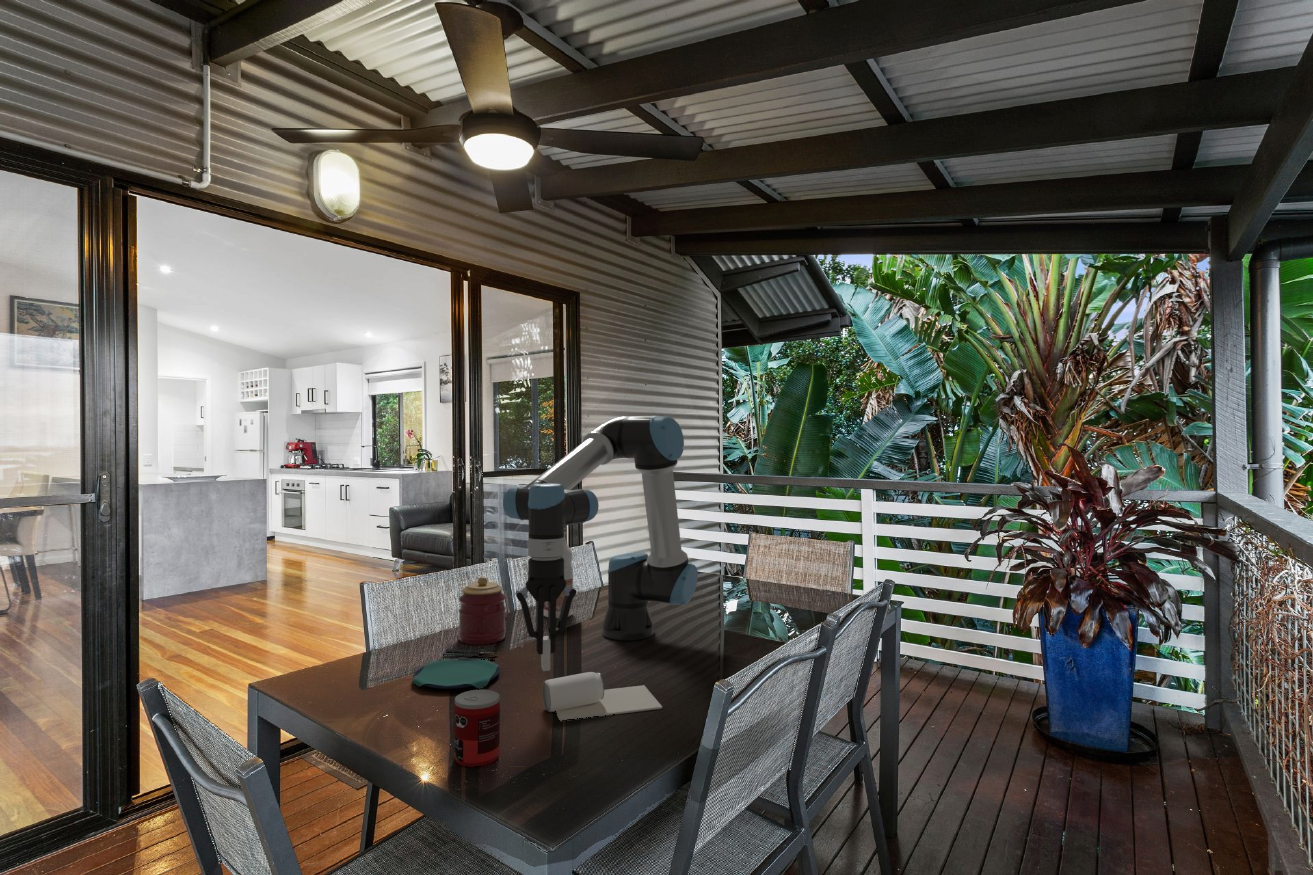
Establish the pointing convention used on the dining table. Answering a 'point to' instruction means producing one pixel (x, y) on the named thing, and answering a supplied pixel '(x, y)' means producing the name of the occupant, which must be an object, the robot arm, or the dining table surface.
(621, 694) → the mat
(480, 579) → the canister
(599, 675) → the can
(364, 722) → the dining table surface
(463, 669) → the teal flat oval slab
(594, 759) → the dining table surface
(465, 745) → the canned food
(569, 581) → the fruit juice
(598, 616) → the dining table surface
